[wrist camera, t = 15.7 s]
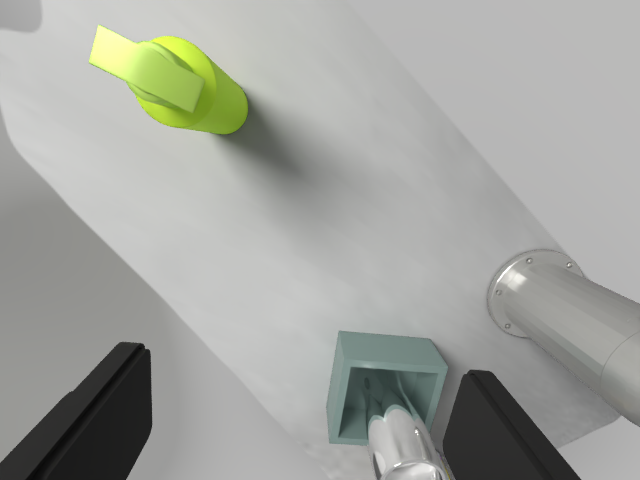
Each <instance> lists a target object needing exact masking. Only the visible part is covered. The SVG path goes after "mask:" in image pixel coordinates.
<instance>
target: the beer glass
mask: <svg viewBox="0 0 640 480" xmlns="http://www.w3.org/2000/svg"><path fill="white" fill-rule="evenodd" d="M357 384H358V387H359V389H360V391H361V393H362V395H363V398H364V402H365V423H366V440H367V446H368V452H369V457H370V461H371V465H372V469H373V472H374V476H375V479H376V480H446V479H445V475H444V472H443V470H442V467H441V464H440V461H439V458H438V455H437V452H436V450H435V447H434V444H433V442H432V439H431V437H430V434H429V432H428V430H427V428H426V426H425V424H424V422H423V421H422V419H421V417H420V416H419V414H418V412H417V411H416V409H415V408H414V406H413V405H412V403H411V402H410V401H409V399H408V398H407V396H406V394H405V393H404V391H403V388H402V385H401V379H400V374H399V371H398V370H387V369H374V368H361V369H360V370H359V372H358V375H357Z"/></svg>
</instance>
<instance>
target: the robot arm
mask: <svg viewBox="0 0 640 480" xmlns="http://www.w3.org/2000/svg"><path fill="white" fill-rule="evenodd" d="M487 300H488V309H489V312H490V315H491V317H492V319H493V320H494V321H495V322H496V324H497V325H498V326H499V327H501V328H502V329H503V330H504V331H506V332H508V333H510V334H511V335H515V336H518V337H530V338H531V339H533V340H534V341H535V342H536V343H537V344H538V345H540V346H541V347H542V348H543V349H544V350H545V351H547V352H548V353H549V354H550V355H551V356H552V357H554V358H555V359H556V360H557V361H558V362H560V363H561V364H562V365H563V366H564V367H565V368H567V369H568V370H569V371H570V372H571V373H572V374H574V375H575V376H576V377H577V378H578V379H579V380H581V381H582V382H583V383H584V384H585V385H587V386H588V387H589V388H590V389H591V390H592V391H594V392H595V393H596V394H597V395H598V396H599V397H601V398H602V399H603V400H604V401H606V402H607V403H608V404H609V405H610V406H611V407H613V408H614V409H615V410H616V411H617V412H619V413H620V414H621V415H622V416H624V417H625V418H626V419H628V420H629V421H630V422H632V423H634V424H635V425H637V426H639V427H640V304H639V303H637V302H635V301H633V300H630V299H628V298H626V297H624V296H622V295H620V294H618V293H615V292H613V291H611V290H609V289H607V288H605V287H603V286H601V285H598V284H596V283H594V282H592V281H590V280H588V279H586V278H584V277H583V274H582V272H581V270H580V268H579V266H578V265H577V264H576V262H575V261H573V260H572V259H571V258H570V257H568V256H566V255H564V254H561V253H559V252H556V251H553V250H544V249H543V250H534V251H530V252H526V253H524V254H521V255H519V256H517V257H515V258H514V259H512V260H511V261H509V262H508V263H507V264H506V265H505V266H503V267H502V268H501V270H500V271H499V272H498V273H497V275H496V276H495V278H494V280H493V281H492V283H491V286H490V289H489V292H488V299H487ZM151 397H152V396H151V356H150V350H149V349H145V346H144V344H141V343H130V342H120V343H119V344H118V345H116V347H114V349H113V350H112V351H111V352H110V353H109V354H108V355H107V356H106V357H105V358H104V359H103V360H102V361H101V362H100V363H99V364H98V366H97V367H96V368H95V369H94V370H93V371H92V372H91V373H90V374H89V375H88V376H87V377H86V378H85V379H84V380H83V381H82V382H81V383H80V385H79V386H78V387H77V388H76V389H75V390H74V391H71V392H69V393H68V394H67V395H66V396H65V397H64V398H62V399H61V400H60V401H59V403H58V404H57V405H56V406H55V407H54V408H53V409H52V410H51V411H50V412H49V413H48V414H47V415H46V416H45V417H44V418H43V419H42V420H41V421H40V422H39V423H38V424H37V425H36V427H34V428H33V429H32V430H31V432H30V433H29V434H28V435H27V436H26V437H25V438H24V439H23V440H22V441H21V442H20V443H19V444H18V445H17V446H16V447H15V448H14V449H13V451H11V452H10V453H9V454H8V456H7V457H6V458H5V459H4V460H3V461H2V462H1V463H0V480H126V479H127V477H128V475H129V473H130V471H131V469H132V468H133V466H134V464H135V462H136V460H137V458H138V456H139V455H140V452H141V451H142V449H143V447H144V445H145V443H146V442H147V440H148V437H149V435H150V432H151V428H152V398H151ZM443 451H444V454H445V457H446V459H447V461H448V464H449V466H450V468H451V470H452V473H453V475H454V477H455V479H456V480H581V479H580V478H579V477H578V475H577V474H576V473H575V472H574V470H573V469H572V468H571V467H570V466H569V464H568V463H567V462H566V461H565V460H564V458H563V457H562V456H561V455H560V454H559V452H558V451H557V450H556V449H555V447H554V446H553V445H552V444H551V443H550V441H549V440H548V439H547V438H546V437H545V435H544V434H543V433H542V432H541V431H540V429H539V428H538V427H537V426H536V425H535V423H534V422H533V421H532V420H531V419H530V417H529V416H528V415H527V414H526V412H525V411H524V410H523V409H522V408H521V406H520V405H519V404H518V403H517V402H516V400H515V399H514V398H513V397H512V396H511V394H510V393H509V392H508V391H507V390H506V388H505V387H504V386H503V385H502V384H501V382H500V381H499V380H498V379H497V378H496V376H495V375H494V374H493V373H492V372H490V371H483V370H470V371H469V372H468V373H467V374H464V375H463V377H462V380H461V383H460V387H459V390H458V393H457V396H456V400H455V403H454V406H453V410H452V413H451V416H450V420H449V423H448V426H447V430H446V433H445V436H444V440H443Z"/></svg>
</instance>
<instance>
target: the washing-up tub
mask: <svg viewBox="0 0 640 480" xmlns="http://www.w3.org/2000/svg"><path fill="white" fill-rule="evenodd" d="M361 368H374V369H387V370H398V371H399V374H400V379H401V385H402V388H403V391H404V393H405V394H406V396H407V398H408V399H409V401H410V402H411V403H412V405H413V406H414V408H415V409H416V411H417V412H418V414H419V416H420V417H421V419H422V421H423V422H424V424H425V426H426V428H427V430H428V432H429V434H430V430H431V427H432V423H433V420H434V416H435V412H436V409H437V405H438V402H439V398H440V395H441V391H442V388H443V384H444V381H445V377H446V374H447V370H448V366H447V365H446V363H445V361H444V360H443V358H442V357H441V355H440V354H439V352H438V351H437V349H436V348H435V346H434V345H433V343H432V341H431V340H430V339H426V338H415V337H403V336H391V335H380V334H368V333H357V332H345V331H339V333H338V339H337V345H336V351H335V357H334V363H333V370H332V376H331V382H330V388H329V394H328V400H327V406H326V409H327V421H328V433H329V443H332V444H349V445H366V446H367V440H366V423H365V402H364V398H363V395H362V393H361V391H360V389H359V387H358V384H357V375H358V372H359V370H360V369H361Z"/></svg>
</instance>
